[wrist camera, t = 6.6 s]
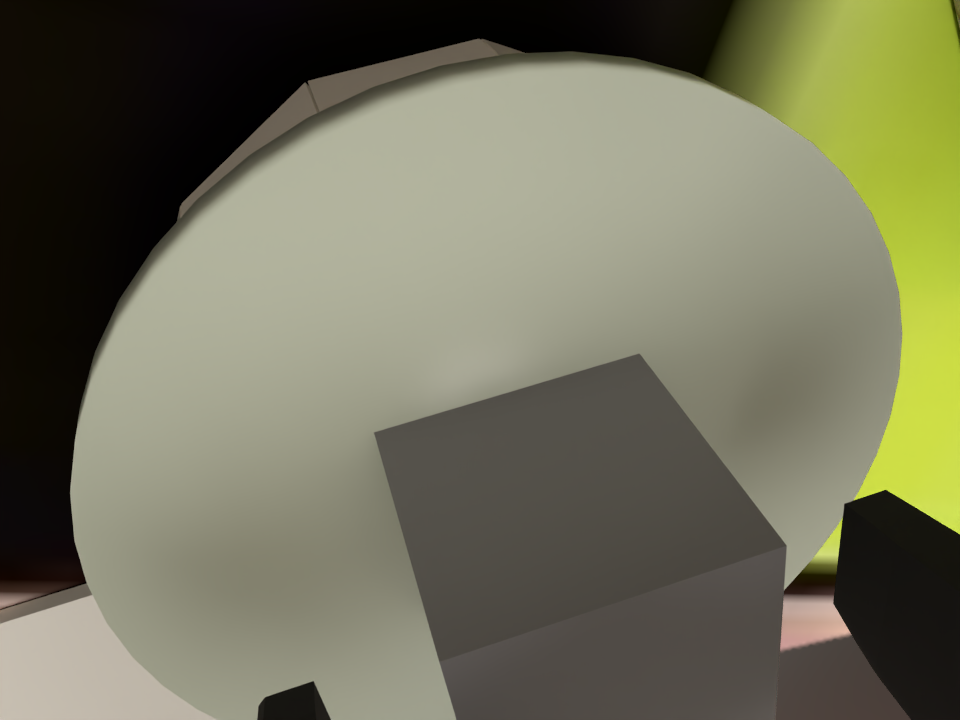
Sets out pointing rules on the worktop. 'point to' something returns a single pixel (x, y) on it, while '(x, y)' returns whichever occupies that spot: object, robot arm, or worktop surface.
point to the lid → (490, 403)
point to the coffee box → (957, 10)
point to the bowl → (343, 97)
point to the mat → (75, 666)
